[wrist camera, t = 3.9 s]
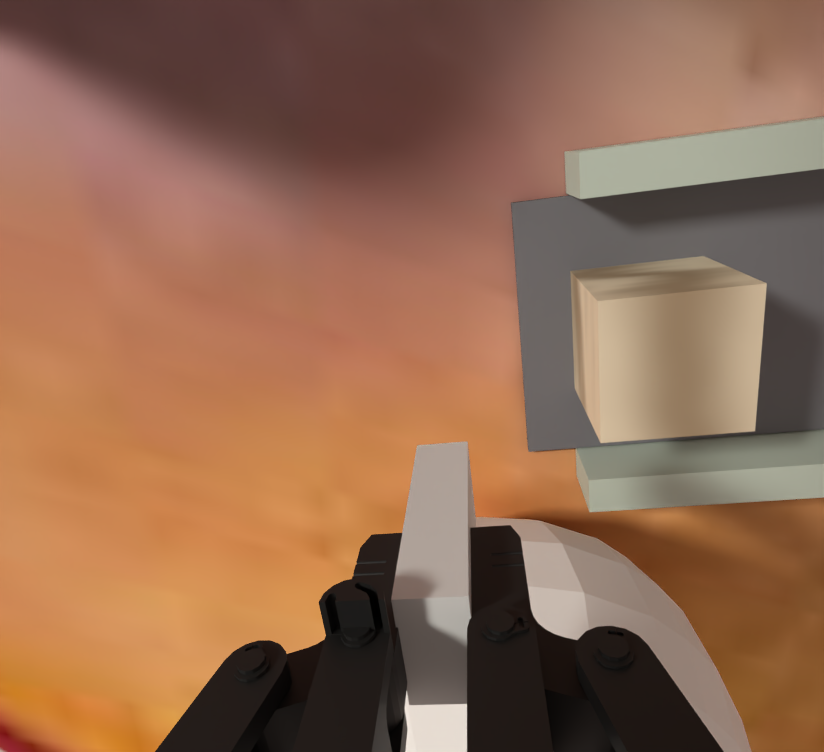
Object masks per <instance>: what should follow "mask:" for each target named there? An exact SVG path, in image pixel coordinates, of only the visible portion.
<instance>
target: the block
mask: <svg viewBox="0 0 824 752" xmlns="http://www.w3.org/2000/svg"><path fill="white" fill-rule="evenodd" d="M570 275H571V302H572V329H573V357H574V384H575V390H576V392H577V394H578V396H579V399H580V401H581V403H582V405H583V407H584V409H585V411H586V413H587V415H588V418H589V420H590V422H591V424H592V426H593V428H594V430H595V432H596V434H597V436H598V439H599V441H600V443H609V442H622V441H635V440H648V439H661V438H674V437H687V436H700V435H713V434H726V433H739V432H752V431H755V425H756V413H757V400H758V388H759V375H760V363H761V350H762V338H763V325H764V313H765V301H766V288H767V283H765V282H763V281H760V280H758V279H756V278H753V277H751V276H749V275H746V274H744V273H742V272H739V271H737V270H735V269H733V268H730V267H728V266H726V265H723V264H721V263H719V262H716V261H714V260H712V259H709V258H707V257H705V256H700V257H691V258H682V259H673V260H664V261H655V262H646V263H637V264H628V265H619V266H611V267H602V268H593V269H584V270H575V271H570Z"/></svg>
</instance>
